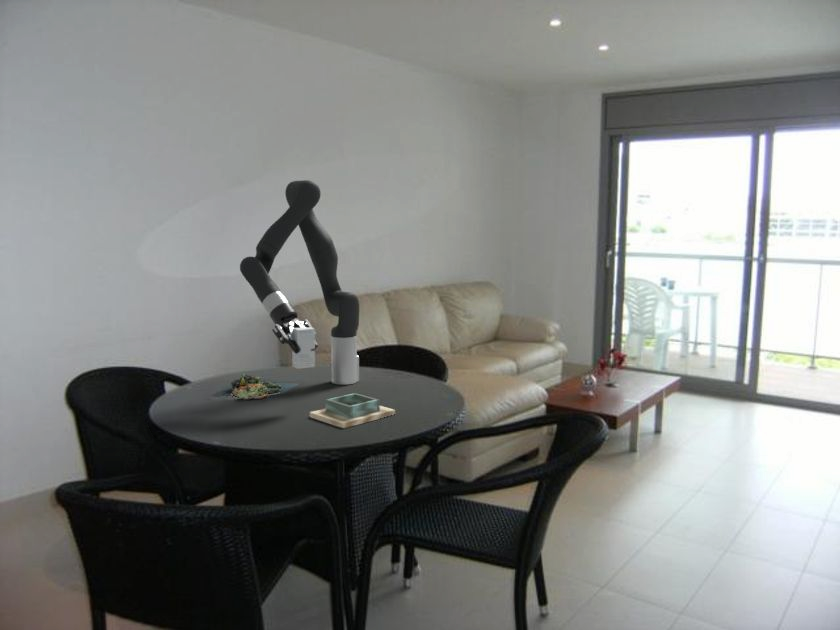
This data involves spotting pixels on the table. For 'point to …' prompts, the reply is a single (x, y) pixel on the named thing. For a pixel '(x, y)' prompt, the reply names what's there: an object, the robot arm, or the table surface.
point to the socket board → (351, 410)
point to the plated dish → (254, 388)
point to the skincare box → (304, 348)
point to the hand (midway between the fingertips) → (307, 349)
